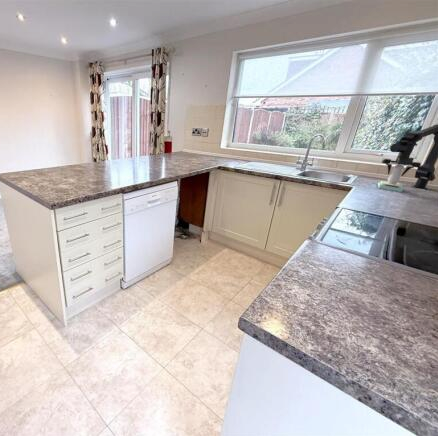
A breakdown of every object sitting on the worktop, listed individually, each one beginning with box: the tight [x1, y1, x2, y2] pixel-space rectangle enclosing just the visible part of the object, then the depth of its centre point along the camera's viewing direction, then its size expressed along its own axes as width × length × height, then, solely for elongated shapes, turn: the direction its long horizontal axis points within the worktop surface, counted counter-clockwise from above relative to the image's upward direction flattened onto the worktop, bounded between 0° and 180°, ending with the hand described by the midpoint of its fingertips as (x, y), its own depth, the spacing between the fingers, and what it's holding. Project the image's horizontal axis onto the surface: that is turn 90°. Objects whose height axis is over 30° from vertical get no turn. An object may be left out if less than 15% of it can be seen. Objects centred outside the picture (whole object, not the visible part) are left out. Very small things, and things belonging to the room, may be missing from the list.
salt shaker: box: [387, 164, 405, 184], centre depth 170 cm, size 6×6×13 cm
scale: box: [377, 180, 404, 193], centre depth 172 cm, size 14×12×3 cm
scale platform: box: [380, 180, 403, 187], centre depth 173 cm, size 11×10×1 cm
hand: (394, 175), depth 170 cm, fingers open, 7 cm apart
